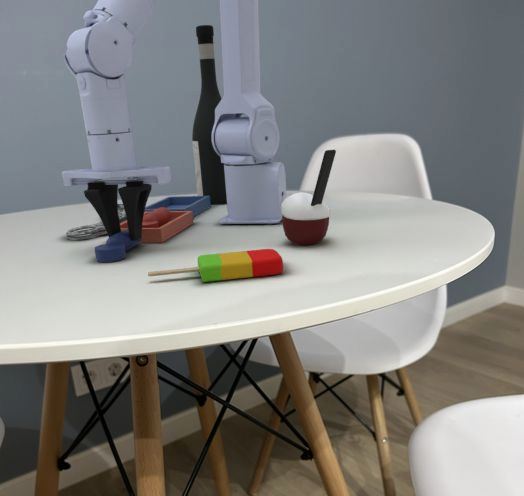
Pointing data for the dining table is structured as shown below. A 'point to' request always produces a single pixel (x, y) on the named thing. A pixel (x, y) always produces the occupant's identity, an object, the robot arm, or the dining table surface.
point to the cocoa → (308, 209)
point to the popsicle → (233, 265)
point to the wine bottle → (207, 124)
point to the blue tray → (182, 204)
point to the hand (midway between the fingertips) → (125, 239)
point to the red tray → (165, 227)
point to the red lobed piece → (156, 218)
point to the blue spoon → (115, 247)
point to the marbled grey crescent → (94, 227)
